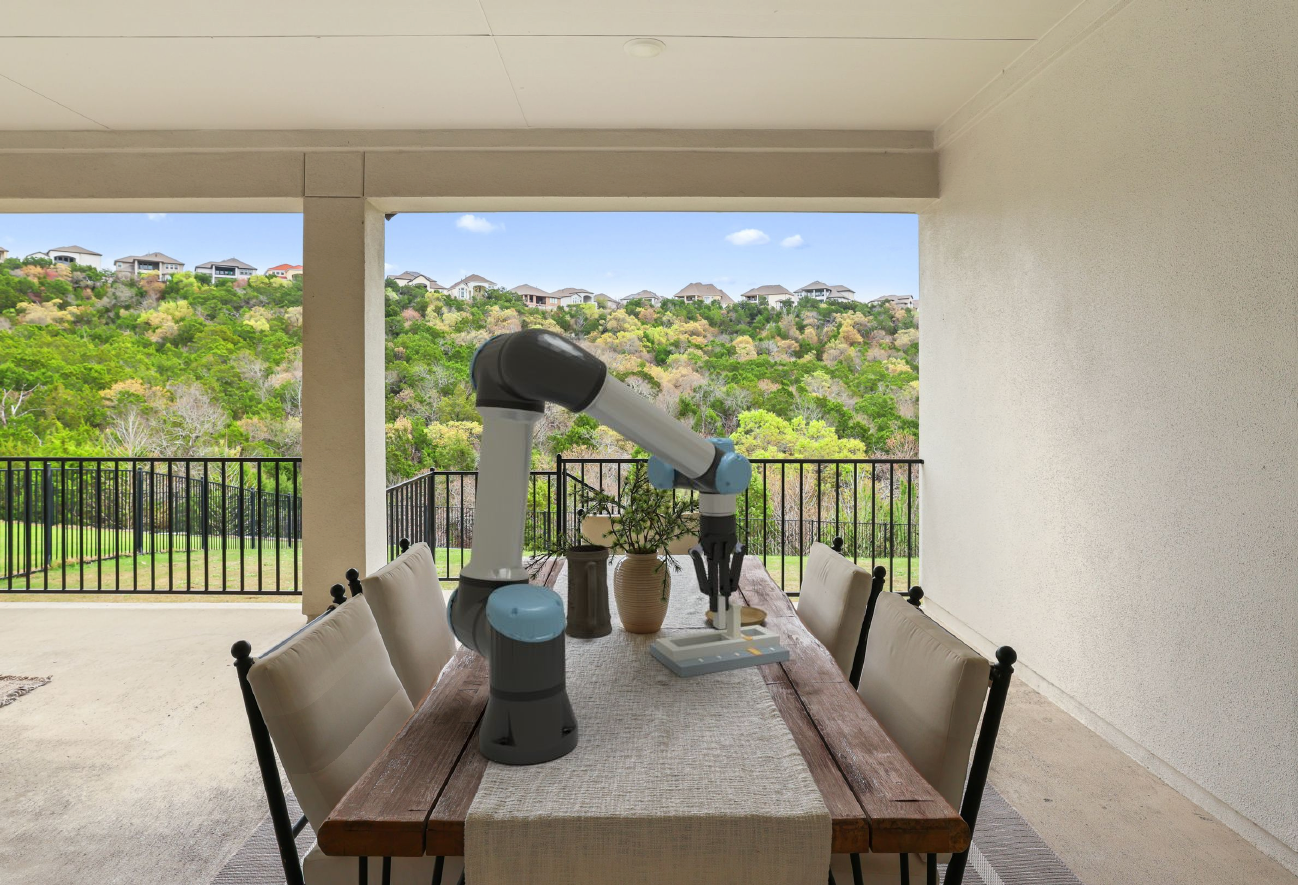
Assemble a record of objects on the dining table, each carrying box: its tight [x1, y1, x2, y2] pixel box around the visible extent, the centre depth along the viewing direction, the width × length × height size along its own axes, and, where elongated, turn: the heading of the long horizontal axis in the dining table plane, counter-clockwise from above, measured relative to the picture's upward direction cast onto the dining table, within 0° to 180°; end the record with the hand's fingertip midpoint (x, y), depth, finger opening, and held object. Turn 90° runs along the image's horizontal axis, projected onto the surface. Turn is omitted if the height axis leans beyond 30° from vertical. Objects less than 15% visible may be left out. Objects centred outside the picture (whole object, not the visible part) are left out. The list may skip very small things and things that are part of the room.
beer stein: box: [565, 544, 613, 639], centre depth 172 cm, size 15×11×20 cm
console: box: [649, 624, 791, 679], centre depth 156 cm, size 16×24×4 cm, turn 112°
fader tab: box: [721, 600, 745, 641], centre depth 157 cm, size 4×4×8 cm
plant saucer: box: [704, 605, 768, 630], centre depth 180 cm, size 15×15×3 cm
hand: (719, 626), depth 156 cm, fingers closed
